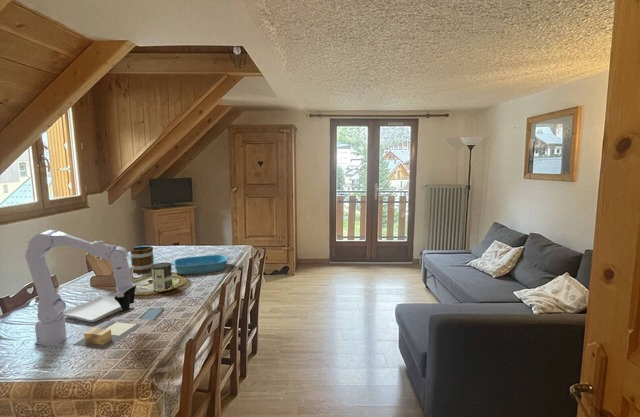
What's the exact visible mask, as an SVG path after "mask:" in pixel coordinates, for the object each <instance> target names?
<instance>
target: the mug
mask: <svg viewBox="0 0 640 417" xmlns="http://www.w3.org/2000/svg"><path fill="white" fill-rule="evenodd" d="M129 250H130V262H131V270H132V269H133V272H132V273H133V274H146V273H149V272H151V273H152V268H151V266H152V265H154V264H155V263H154V260H155V258H154V251H153V250H154V247H153V246H151V245H140V246H139V245H138V246H134V247H132V248H130V249H129Z"/></svg>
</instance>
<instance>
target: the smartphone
mask: <svg viewBox="0 0 640 417" xmlns="http://www.w3.org/2000/svg"><path fill="white" fill-rule="evenodd" d="M164 310H165V308H164V307H160V308H156V307H155V308H148V309H147V310H146V311H145V312H144V313H143V314H142V316H140V317H139V320H146V321H156V320H157V319H158V318H159V316H160V315H161V314H162V313H163V312H164Z"/></svg>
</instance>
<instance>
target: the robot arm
mask: <svg viewBox="0 0 640 417" xmlns="http://www.w3.org/2000/svg"><path fill="white" fill-rule="evenodd" d="M27 243H28V246H27V249H26V251H25V254H24V256H25V259H26V260H25V261H26V263H27V266H28V269H29V272H30V274H31V277H32V282H33V284H34V287H35V290H36V293H37V297H38V299H39V300H38V303H37V306H36V307H37V319H38V321H37V322H36V323H35V327H34V332H35V340H36V341H35V342H34V344H35V345H46V346H56V345H58V344H60V343H62V342H64V341H66V340H68V339H70V338H71V337H72V336H73V335H72V334H67V328H66V327H67V326H66V321H65V320H66V319H65V316H64V314H63V312H64V311H66V307H67V304H66V302H65V300H63V299H62V297H61V295H60V294H59V293H57V292H56V289H55V285H54V282H53V279H52V276H51V273H50V270H49V266H48V263H47V260H46V257H45V256H46V255H47V253H48V252H49V250H50V249H51V248H56V247H61V246H62V247H63V246H68V247H73V248H76V249H81V250H85V251H87V252H88V253H89V255H91V256H94V257H97V258H102V259H105V260H108V261H109V262H110V263H111V265H112V266H111V267H112V271H113V272H112V273H113V276H114V281H115V286H116V291H117V292H116V295H115V296H114V297H113V298H115V300H116V301H117V302H118V303H119V304H120V306H121V308H122V310H121V311H122V312H129V311H130V308H131V307H130V306H131V304H134V303H135V294H136V293H135V292H136V289H137V284H136V283H133V280H132V276H131V271H130V270H131V269H130V265H129V262H128V258H127V257H128V254H129V253H128V250H127V248H126V247H123V245H118V246H117V245H115V244H113V245H112V244H107V243H104V240H99V241H98V240H95V241H93V242H91V241H87V240H86V239H83V238H79V237H76V236H74V235H71V234H69V233H66V232H63V231H59V230H56V229H47V230H45V231H43V232H41V233H37V234H36V235H34V236H32V238H31V239H30V240H29V241H28V242H27ZM129 304H130V305H129Z"/></svg>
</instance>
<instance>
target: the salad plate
mask: <svg viewBox="0 0 640 417" xmlns="http://www.w3.org/2000/svg"><path fill="white" fill-rule="evenodd" d="M129 305H130V306H131V304H129ZM120 311H123V310H122V308H121V306H120V304H119V303H118V302H117V301H116V300H115V298H114V297H108V296H100V297H97V298H94V299H92V300H90V301H87V302H84V303H81V304H78V305H76V306H74V307H72V308H69V309H65V310H64V311H63V314H64V317H66V318H70V319H75V320H79V321H85V322H89V323H94V322H95V323H96V322H97V321H99V320H102V319H104V318H106V317H110V316H111V315H113V314H116V313H119V312H120Z"/></svg>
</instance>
